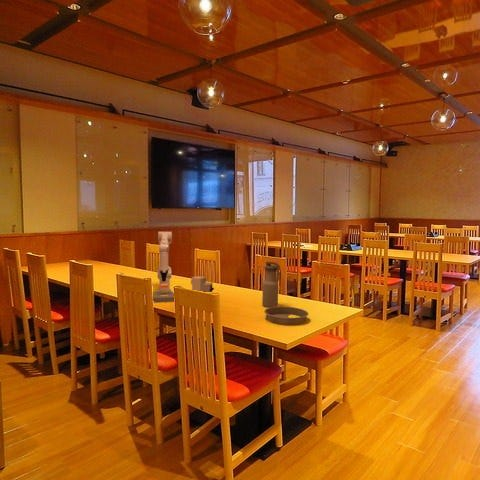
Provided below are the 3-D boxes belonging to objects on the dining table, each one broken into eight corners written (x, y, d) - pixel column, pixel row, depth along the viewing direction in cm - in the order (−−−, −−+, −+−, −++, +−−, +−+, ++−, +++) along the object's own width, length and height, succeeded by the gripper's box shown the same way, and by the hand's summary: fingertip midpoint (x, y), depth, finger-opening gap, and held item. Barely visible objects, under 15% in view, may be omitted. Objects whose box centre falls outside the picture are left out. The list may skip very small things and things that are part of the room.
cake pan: (292, 329, 206) (292, 320, 205) (255, 319, 221) (255, 311, 221) (316, 319, 224) (316, 311, 224) (280, 311, 240) (280, 304, 240)
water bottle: (279, 304, 255) (280, 261, 253) (276, 308, 246) (278, 263, 244) (264, 303, 258) (265, 260, 256) (260, 307, 249) (261, 262, 246)
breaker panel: (150, 296, 272) (150, 288, 271) (177, 295, 276) (177, 287, 275) (150, 302, 254) (150, 294, 254) (178, 301, 258) (178, 293, 258)
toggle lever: (160, 292, 267) (160, 283, 264) (167, 292, 268) (167, 283, 265) (160, 294, 266) (160, 285, 262) (167, 294, 267) (168, 285, 263)
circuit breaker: (211, 301, 260) (212, 279, 258) (190, 300, 262) (190, 277, 261) (214, 299, 267) (215, 277, 266) (194, 298, 270) (194, 276, 268)
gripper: (157, 260, 277) (157, 279, 278) (158, 263, 263) (158, 283, 264) (168, 260, 279) (167, 279, 280) (169, 263, 264) (168, 283, 266)
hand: (163, 281), depth 272 cm, fingers closed
